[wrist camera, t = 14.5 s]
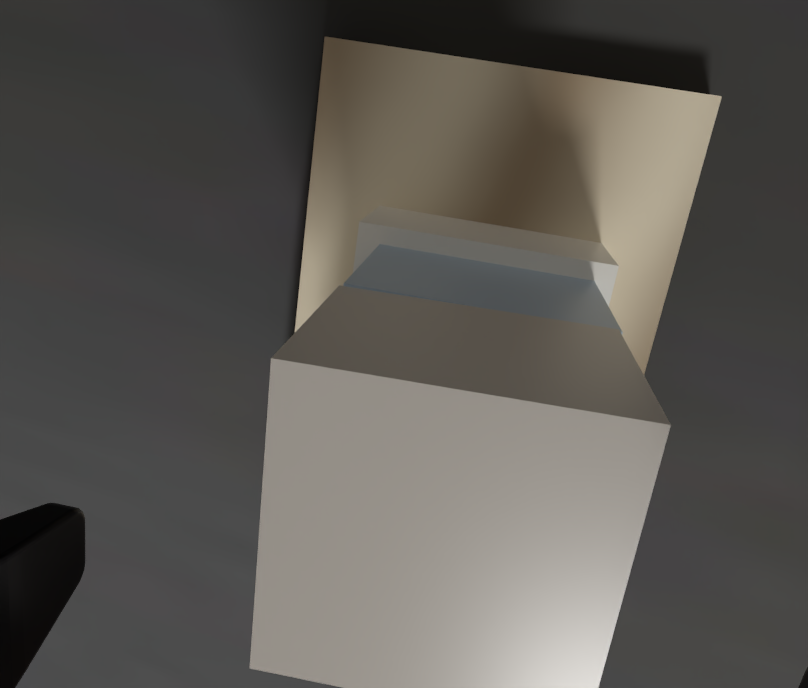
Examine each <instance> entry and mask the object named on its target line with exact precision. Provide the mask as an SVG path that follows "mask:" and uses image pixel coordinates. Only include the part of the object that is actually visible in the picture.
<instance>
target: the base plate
mask: <svg viewBox="0 0 808 688" xmlns="http://www.w3.org/2000/svg"><path fill="white" fill-rule="evenodd" d="M721 97H722V96H716V95H709V94H703V93H696V92H689V91H683V90H676V89H669V88H663V87H656V86H650V85H643V84H636V83H630V82H623V81H617V80H610V79H603V78H597V77H590V76H583V75H577V74H570V73H564V72H557V71H550V70H544V69H537V68H530V67H524V66H517V65H511V64H504V63H497V62H491V61H484V60H478V59H471V58H464V57H458V56H451V55H444V54H438V53H431V52H425V51H418V50H411V49H405V48H398V47H391V46H385V45H378V44H372V43H365V42H358V41H352V40H345V39H338V38H332V37H325V38H324V48H323V58H322V68H321V78H320V88H319V98H318V107H317V117H316V127H315V137H314V147H313V157H312V166H311V176H310V186H309V196H308V206H307V216H306V226H305V235H304V245H303V255H302V265H301V275H300V285H299V294H298V304H297V314H296V324H295V332H296V331H297V330H298V329H299V328H300V327H301V326H302V325H303V324H304V323H305V321H306V320H307V319H308V318H309V317H310V316H311V315H312V314H313V313H314V312H315V311H316V310H317V309H318V308H319V306H320V305H321V304H322V303H323V302H324V301H325V300H326V299H327V298H328V297H329V296H330V295H331V294H332V293H333V291H334V290H335V289H336V288H337V287H338V286H339V285H340V286H343V285H344V282H345V281H346V280H347V279H348V278H349V277H350V276H351V275H352V274H353V267H354V259H355V251H356V243H357V236H358V228H359V221H361V220H362V219H363V218H365V217H366V216H367V215H368V214H370V213H371V212H372V211H374V210H375V209H376V208H378V207H379V206H386V207H392V208H398V209H404V210H410V211H416V212H422V213H428V214H434V215H439V216H445V217H451V218H457V219H463V220H469V221H475V222H481V223H487V224H493V225H499V226H505V227H511V228H517V229H522V230H528V231H534V232H540V233H546V234H552V235H558V236H564V237H570V238H576V239H582V240H588V241H594V242H600V243H602V245H603V246H604V247H605V248H606V250H607V251H608V252H609V254H610V255H611V256H612V258H613V259H614V260H615V261H616V263H617V264H618V265H619V268H618V272H617V276H616V280H615V284H614V287H613V291H612V295H611V299H610V303H609V308H610V310H611V312H612V314H613V316H614V317H615V319H616V321H617V323H618V325H619V326H620V328H621V330H622V332H623V333H622V336H623V338H624V340H625V342H626V343H627V345H628V347H629V349H630V351H631V353H632V354H633V356H634V358H635V360H636V362H637V364H638V366H639V367H640V369H641V371H642V373H643V375H644V373H645V369H646V366H647V362H648V359H649V355H650V351H651V348H652V344H653V341H654V337H655V333H656V330H657V326H658V323H659V319H660V316H661V312H662V308H663V305H664V301H665V298H666V294H667V291H668V287H669V283H670V280H671V276H672V273H673V269H674V265H675V262H676V258H677V255H678V251H679V248H680V244H681V240H682V237H683V233H684V230H685V226H686V223H687V219H688V215H689V212H690V208H691V205H692V201H693V198H694V194H695V190H696V187H697V183H698V180H699V176H700V172H701V169H702V165H703V162H704V158H705V155H706V151H707V147H708V144H709V140H710V137H711V133H712V130H713V126H714V122H715V119H716V115H717V112H718V108H719V105H720V101H721Z"/></svg>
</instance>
